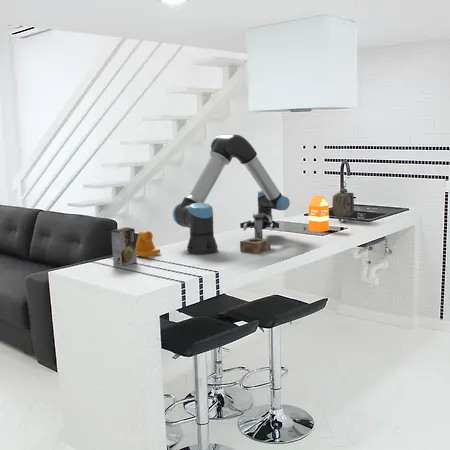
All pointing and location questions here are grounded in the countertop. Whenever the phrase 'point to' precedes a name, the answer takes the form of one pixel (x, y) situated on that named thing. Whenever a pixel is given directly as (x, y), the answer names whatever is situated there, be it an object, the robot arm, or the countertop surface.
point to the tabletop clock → (343, 203)
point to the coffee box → (123, 246)
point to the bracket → (145, 245)
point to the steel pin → (258, 225)
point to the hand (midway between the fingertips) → (257, 228)
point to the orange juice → (318, 214)
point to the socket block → (255, 245)
